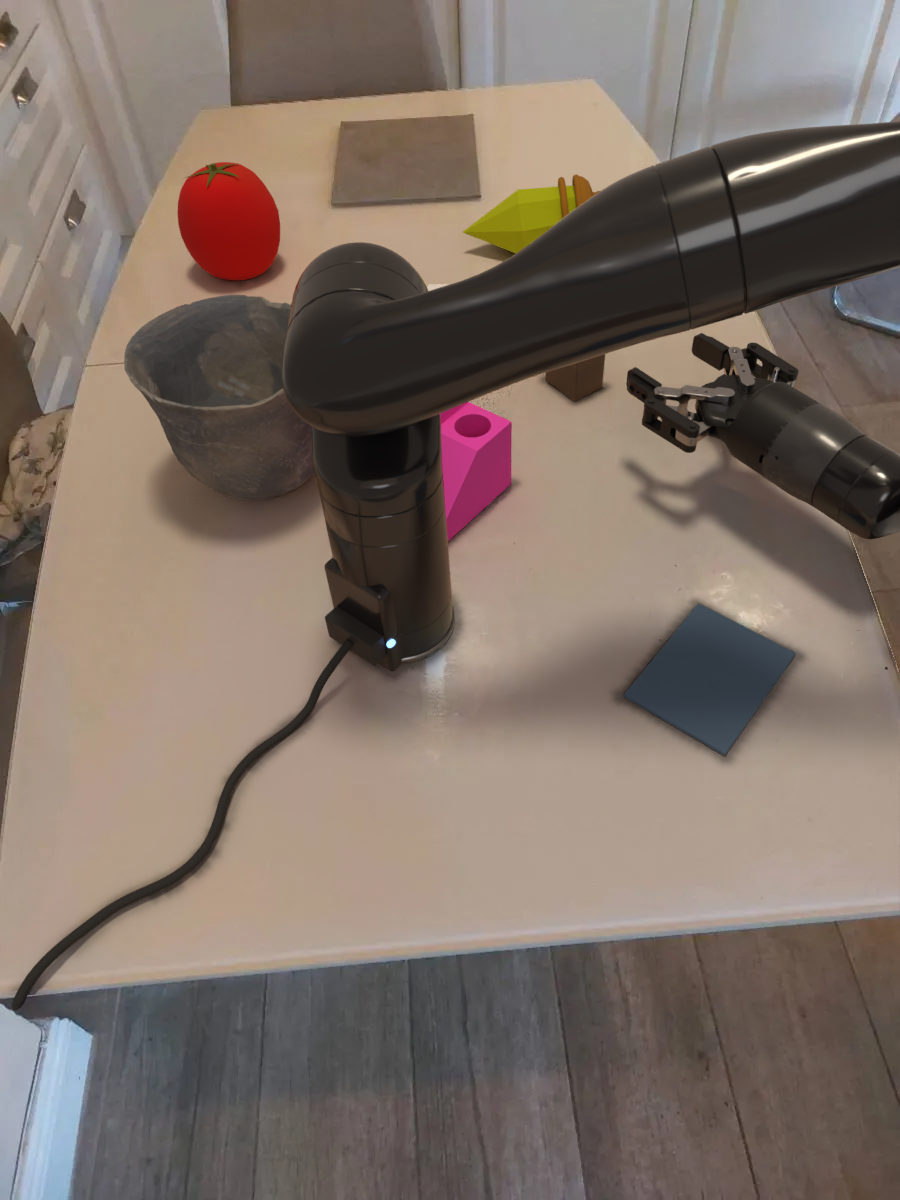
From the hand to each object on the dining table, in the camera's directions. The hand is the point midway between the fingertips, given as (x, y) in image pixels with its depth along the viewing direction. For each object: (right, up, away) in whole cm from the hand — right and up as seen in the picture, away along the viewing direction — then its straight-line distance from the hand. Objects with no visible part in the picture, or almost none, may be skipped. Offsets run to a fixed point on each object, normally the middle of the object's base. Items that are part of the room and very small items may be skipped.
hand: (662, 359), depth 86 cm
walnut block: (-7, +1, +14) cm, 15 cm away
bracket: (-22, -13, +3) cm, 26 cm away
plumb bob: (-6, +23, +33) cm, 40 cm away
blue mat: (+1, -29, -12) cm, 32 cm away
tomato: (-48, +20, +33) cm, 61 cm away
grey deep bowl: (-40, -10, +7) cm, 42 cm away
